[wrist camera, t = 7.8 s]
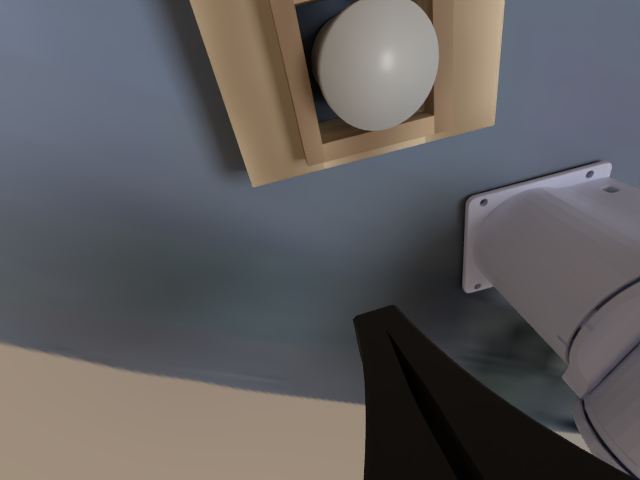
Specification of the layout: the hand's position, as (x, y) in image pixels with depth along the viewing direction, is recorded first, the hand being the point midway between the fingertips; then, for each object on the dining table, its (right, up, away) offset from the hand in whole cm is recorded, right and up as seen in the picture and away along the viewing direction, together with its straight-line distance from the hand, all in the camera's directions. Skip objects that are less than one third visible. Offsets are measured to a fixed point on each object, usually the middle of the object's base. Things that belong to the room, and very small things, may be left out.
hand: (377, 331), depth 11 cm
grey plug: (0, +11, +5) cm, 12 cm away
